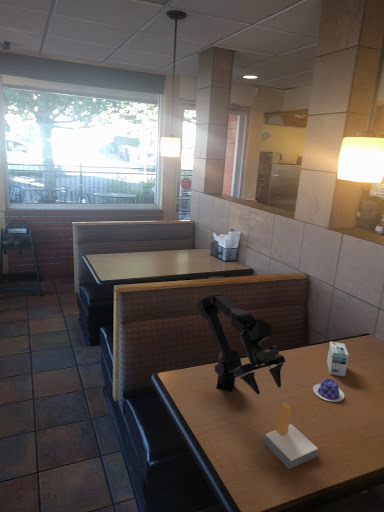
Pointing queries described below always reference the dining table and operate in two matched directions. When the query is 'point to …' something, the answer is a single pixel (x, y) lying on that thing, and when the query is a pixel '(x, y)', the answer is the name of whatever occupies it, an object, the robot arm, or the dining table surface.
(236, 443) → the dining table surface
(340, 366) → the light bulb box
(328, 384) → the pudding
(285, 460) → the gray carton
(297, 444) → the lid
